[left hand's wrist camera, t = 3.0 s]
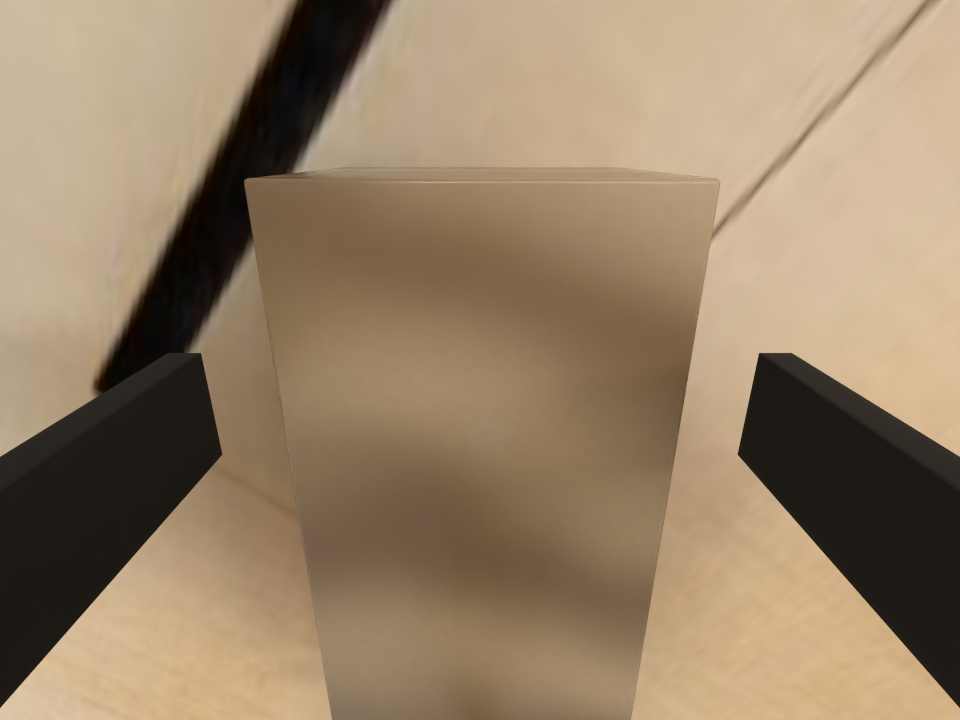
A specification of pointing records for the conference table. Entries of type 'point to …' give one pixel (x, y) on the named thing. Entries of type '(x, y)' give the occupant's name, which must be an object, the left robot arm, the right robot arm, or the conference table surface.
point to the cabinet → (481, 423)
